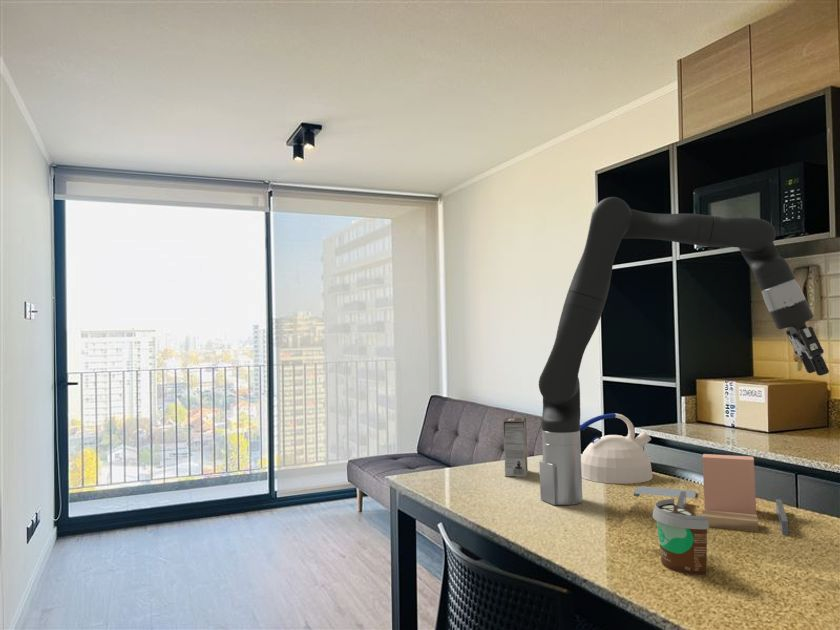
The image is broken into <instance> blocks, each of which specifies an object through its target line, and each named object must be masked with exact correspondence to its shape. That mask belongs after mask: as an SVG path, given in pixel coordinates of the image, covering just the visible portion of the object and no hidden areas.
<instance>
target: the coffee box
mask: <svg viewBox="0 0 840 630" xmlns="http://www.w3.org/2000/svg"><path fill="white" fill-rule="evenodd" d="M527 434H528V433H527V417H505V418H504V421H503V445H504V447H503V449H504V450H503V451H504V452H503V453H504V476H505V477H506V476H516V477H515V478H527V477H528V476H527V475H528V442H527V440H528V439H527V438H528V437H527V436H528V435H527Z"/></svg>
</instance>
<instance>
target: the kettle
mask: <svg viewBox="0 0 840 630" xmlns="http://www.w3.org/2000/svg"><path fill="white" fill-rule="evenodd" d="M614 418H615V419H616V418H617V419H620V420H622V421H623V422H624V423H625V424H626V426H627V430H628V431H627V432H628V433H627V435H626V436H623V435H620V434H619V435H618V434H608V435H606V434H605V435H603V436H596V437H594V438H593V439H592V440H591V442H590V443H589V444H588V445H587V446H586V448H585V449H584V451H583V452H582V453H581V474H582V479H584V480H587V481H591V482H595V483H601V484H610V485H612V484H613V485H632V484H631V483H636V484H641V482H643V483H646V481H647V482H649V481H651V480H652V479H653V471H652V465H651V464H652V463H651V460H650V458H649V456H648V454H647V452H646V451H645V450H644V449H643V448H644V447H645V446H647V444H648V443H649V442H650V441H652V438H651V437H650V435H649V434H648V433H647V432H645V431H642V430H641V433H640V434H638V435H637V436H636V430H635V426H634V424H633V422H632V421H631V420H630V419H629V418H628V417H626V416H625V415H623V414H620V413H615V412H614V413H613V412H611V413H604V414H601V415H597V416H595V417H592V418H590V419H588V420H586V421H584V422H583V423H582V424H580V431H584V430H586V428H588V427H589V426H591V425H593V424H594V423H597V422H599V421H603V420H606V419H614ZM635 436H636V437H635Z"/></svg>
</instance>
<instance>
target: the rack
mask: <svg viewBox="0 0 840 630" xmlns="http://www.w3.org/2000/svg"><path fill="white" fill-rule="evenodd" d="M676 505H677V506H678V507H680V508H684V509H686V505H687V498H686V492H682V491H681V493H680V496H679V497H678V500H677V503H676ZM775 511H776V515H777V519H778V523H779V527H780V530H781V534H782V536H787V537H788V536H790V535H789V521H788V517H787V514H786V512H785V511H786V510H785V507H784V504H783V501H782V499H780V498H778V499H777V498H775Z"/></svg>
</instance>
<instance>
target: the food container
mask: <svg viewBox="0 0 840 630" xmlns="http://www.w3.org/2000/svg"><path fill="white" fill-rule="evenodd" d="M652 518H653V519H654V520H655V521H656V524H657V525H656V526H657V534H658V541H659V551H660V560H661V564H662V566H663V567H665V568H667V569H668V570H671V571H674V572H677V573H680V574H686V575H695V576H707V569H708V567H707V565H708V562H707V561H708V560H707V558H708V557H707V555H708V530H710V527H709V524H708V520H707V516H702V515H696V514H695V513H694V512H692V511H691V510H690V509H688V508H685V509H684V508H680V507H678V506H677V504H675V498H667V499H662V500H659V501H657V502H655V506H654V507H653V511H652Z"/></svg>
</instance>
